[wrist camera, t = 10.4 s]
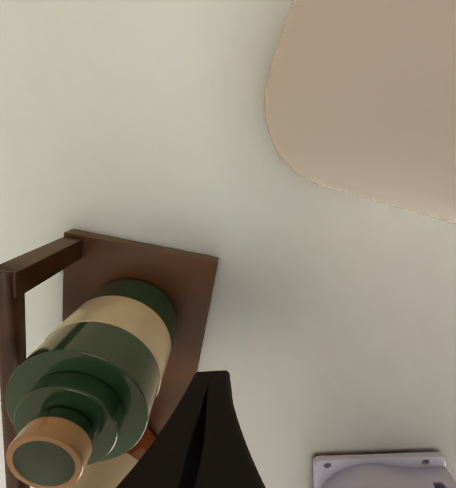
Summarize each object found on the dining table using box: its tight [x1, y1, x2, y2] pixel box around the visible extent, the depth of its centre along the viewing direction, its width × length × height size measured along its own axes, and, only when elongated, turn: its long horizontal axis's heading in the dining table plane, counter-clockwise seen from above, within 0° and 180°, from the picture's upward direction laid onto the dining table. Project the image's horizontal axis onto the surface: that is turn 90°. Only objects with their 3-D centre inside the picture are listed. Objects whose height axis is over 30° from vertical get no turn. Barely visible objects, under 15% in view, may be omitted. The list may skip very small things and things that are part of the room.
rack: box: [0, 229, 219, 488], centre depth 17 cm, size 20×9×6 cm, turn 169°
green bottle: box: [5, 279, 178, 488], centre depth 13 cm, size 6×6×8 cm
